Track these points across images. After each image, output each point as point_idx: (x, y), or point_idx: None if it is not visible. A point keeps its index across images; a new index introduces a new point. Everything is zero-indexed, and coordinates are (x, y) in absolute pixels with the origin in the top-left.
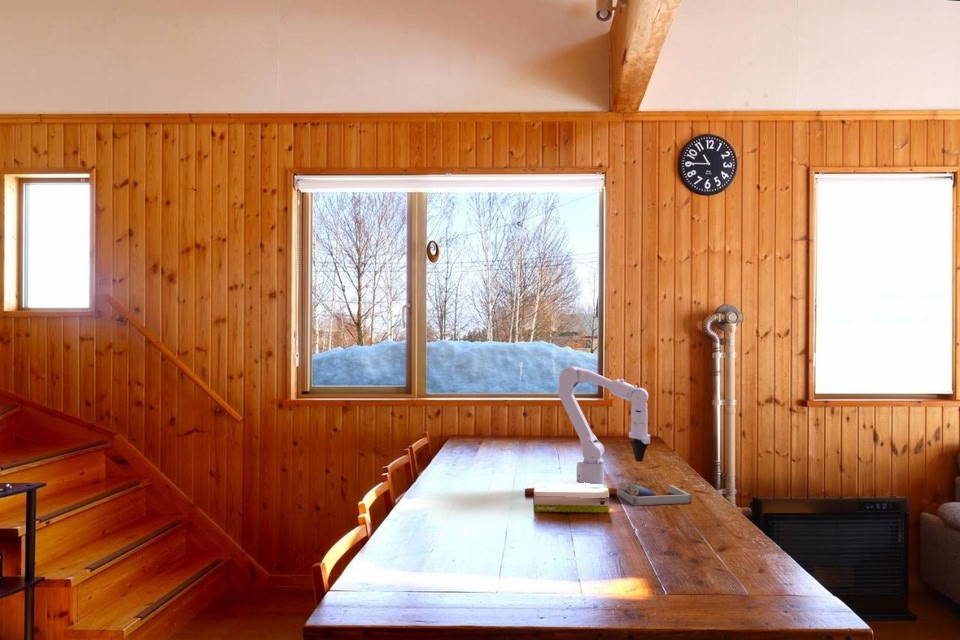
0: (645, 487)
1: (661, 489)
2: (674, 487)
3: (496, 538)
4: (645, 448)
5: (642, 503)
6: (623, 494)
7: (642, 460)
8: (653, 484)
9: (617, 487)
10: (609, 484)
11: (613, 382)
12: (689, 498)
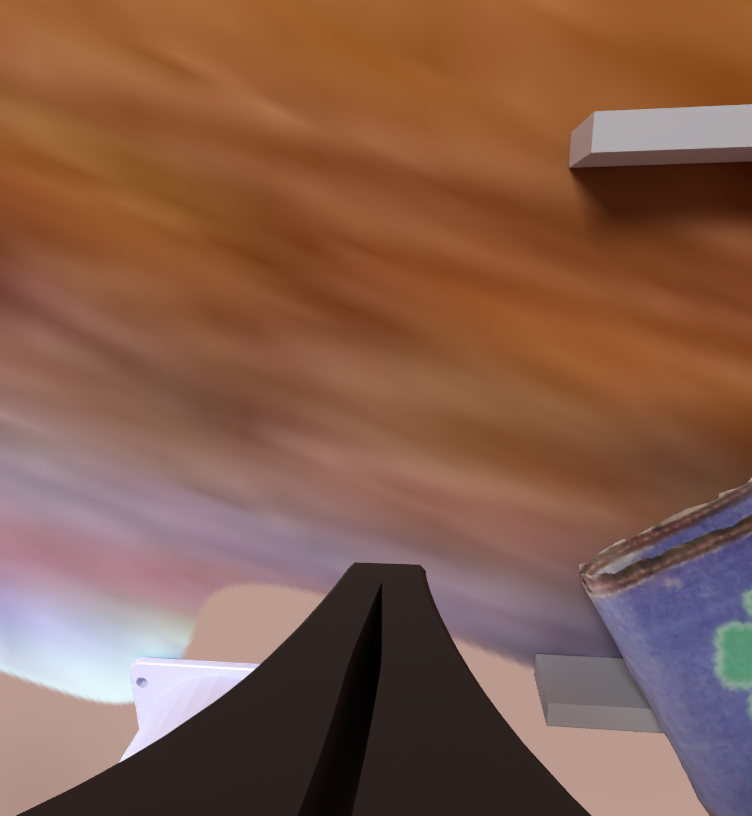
0: (726, 528)
1: (421, 199)
2: (739, 137)
3: None
4: (539, 783)
5: None
6: None
7: (423, 574)
8: (187, 193)
9: (552, 724)
10: (166, 597)
11: None
12: None
